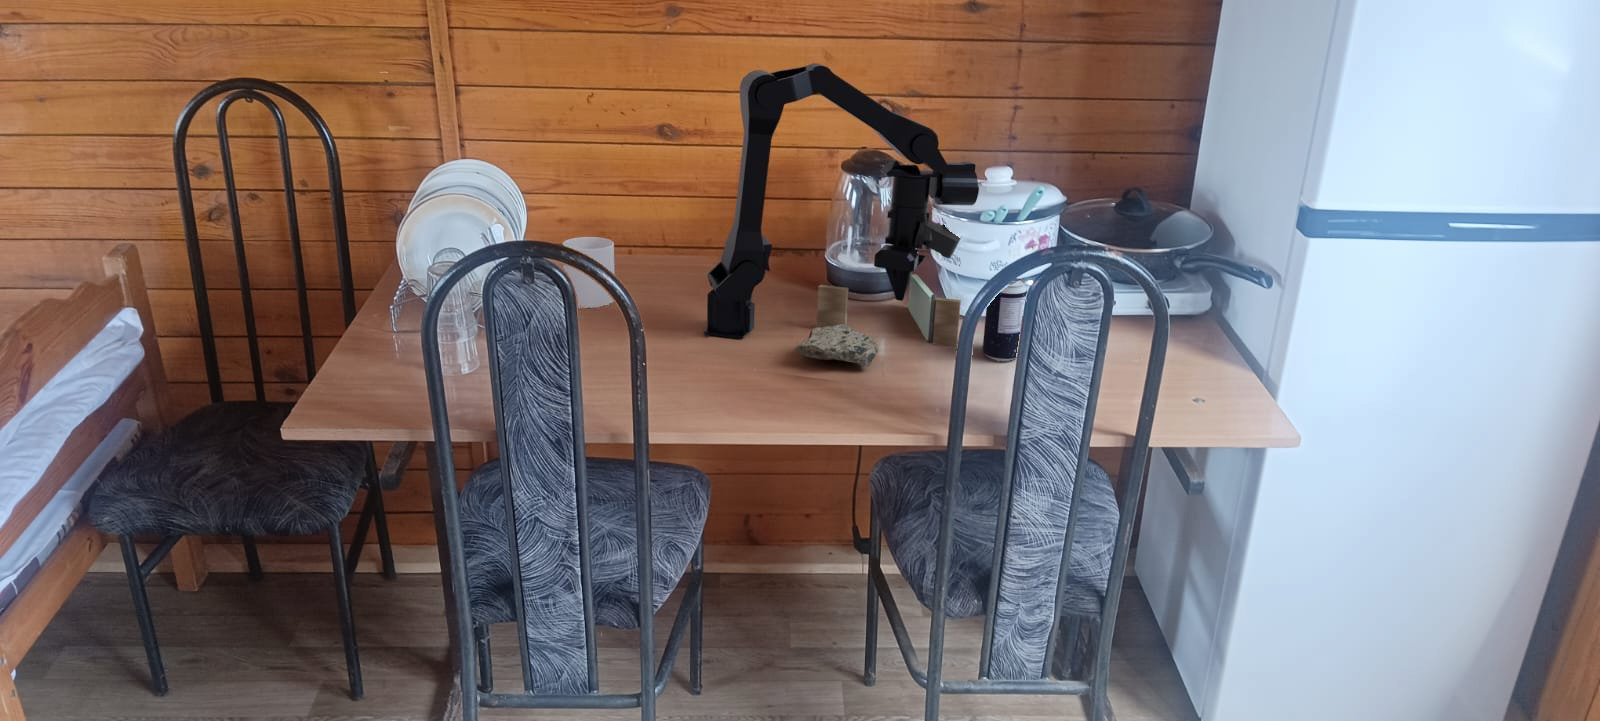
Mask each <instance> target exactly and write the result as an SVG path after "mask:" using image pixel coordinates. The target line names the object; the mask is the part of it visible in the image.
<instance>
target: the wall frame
mask: <svg viewBox="0 0 1600 721" xmlns="http://www.w3.org/2000/svg"><path fill="white" fill-rule="evenodd" d="M817 291H818V292H817V308H816V309H817V312H816V313H817V314H816V327H820V328H823V327H827V326H834V325H840V324H844V325H847V322H848V321H847V320H848V302H849V301H848V300H849V287H847V286H845V287H843V286H836V285H835V286H834V285H827V284H826V285H824V284H820V285H819V286H818V290H817ZM961 302H962V300H961V299H956V298H955V299H953V298H944V297H938V295H937V294H935V293H933V295H932V298H931V311H930V323H929V336H928V340H927V342H928V343H930V344H933V345H943V346H950V347H957V346H958V339H959V338H958V335H959V326H960V316H961V314H960V313H961V304H962V303H961ZM847 326H848V325H847Z"/></svg>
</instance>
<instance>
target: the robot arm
mask: <svg viewBox="0 0 1600 721" xmlns="http://www.w3.org/2000/svg"><path fill="white" fill-rule="evenodd" d="M817 94H818V95H820V96H822V97H824V99H826V100H828V101H829V102H831V103H832V104H834V105H836V106H837V107H838V108H840V109H841V110H843V111H845V112H846V113H848V114H849V115H850V116H852V117H854V118H856V119H857V120H858V121H860V122H862V123H863V124H864V125H866V126H868V128H871V129H872V130H873V131H874V132H875V133H876V134H877V135H878V136H879V137H880V138H881V139H882V140H883V141H884V142H885V143H886V144H887V145H888V146H889V147H890V148H891V149H892V150H893V151H894V152H895V153H896V154H897V155H899V156H900V157H902V158H904V159H906V160H907V161H909V162H911V163H912V164H903V163H902V164H900V163H899V161H898V160H896V159H894V158H892V159H890V161H889V162H888V163H887V164H885V165H884V166H882V167H881V169H880V172H881V173H882V174H883V175H885V176H886V177H888V178H891V177H892V178H893V179H892V190H891V201H890V208H889V210H887V215H886V217H887V219H889V222H888V232H887V235H886V236H885V239H884V246H882V247H881V248H879V250H877V252H876V253H875V254H874V261H873V266H874V267H875V268H879V269H885V272H886V274H887V276H888V279H889V282H890V286H891V288H892V291H893V294H894V297H895V299H896V301H903V300H904V299H905V297H906V292H907V290H908V287H909V285H910V278H911V275H913V272H915V270H916V269H917V268H919V267H920V265H921V264H922V262H923V261H924V260H925V259H926V255H924V254H919V250H918V249H920V250H922V249H924V246H925V250H927V251H928V250H933V251H934V252H936V253H938V254H940V255H941V257H943V258H946V259H951V257H952V256H953V254H954V252H955V251H956V249H957V246H958V244H959V243H960V240H961V239H962V237H961V238H959V237H958V236H956V235H955V234H953V233H952V232H950V231H949V230H948V229H947V228H946V227H945V225H944V223H942V224H943V225H942V224H941V223H940V222H934V221H933V220H931V212H930V210H929V209H928V204H929V198H930V199H932V200H933V199H934V200H933V201H934V203H935V204H936V205H937V206H974V205H975V204H976V202H977V200H978V197H979V192H980V186H979V182H978V175H977V172H976V164H975V163H974V162H972V161H960V162H950V161H949V162H948V161H946V159H945V158H944V157H943V155H942V153H941V151H940V149H939V136H938V134H937V133H936V132H935V130H933V129H932V128H930V127H928V126H926V125H924V124H922V123H919V122H918V121H915V120H913V119H910V118H908V117H906V116H903V115H900V114H899V113H896V112H894V111H891V110H889V108H886V107H885V106H883V105H882V104H880V103H878V101H876V100H874V99H872V97H870V96H869V95H867V94H865V93H864V92H862V91H861V90H859V89H858V88H856V87H855V86H853V85H852V84H850V83H849V82H848V81H846V80H844V79H843V78H841V77H840V76H838V75H836V74H835V73H834V72H833V71H832V70H831V68H829V67H828V66H825V65H823V64H821V63H819V62H816V63H815V62H812V63H810V64H807V65H804V66H799V67H792V68H788V69H782V70H781V69H780V70H776V71H772V72H768V71H766V70H763V69H756V70H752V71H750V72H748V73H747V74H746V75H745V76H743V77H742V79H741V81H740V85H739V100H740V101H739V103H740V104H739V106H740V113H741V120H742V125H743V126H742V127H743V141H742V149H741V156H740V158H741V159H740V166H739V176H738V185H737V186H738V187H737V193H736V195H737V196H736V204H735V211H734V212H735V213H734V221H733V224H732V227H731V229H730V231H729V233H728V236H727V238H726V241H725V244H724V248H723V251H722V255H721V258H720V261H719V262H718V263H717V264H716V265H715V266H714V267H713V268H712V269H711V270H709V272H708V273H707V274H706V277H707V279H708V282H709V284H710V287H711V288H712V290H711V289H710V291H709V292H708V293H707V305H706V306H707V307H706V308H707V312H706V314H707V315H706V316H707V318H706V319H707V320H706V321H707V322H706V327H705V329H704V330H703V335H706V336H716V337H723V338H731V339H738V340H741V339H744V338H745V337H746V336H747V335H748V334H750V332H752V330H753V329H754V328H755V306H756V305H755V302H752V298H753V297H752V296H753V292H754V290H755V288H756V287H757V286H759V284H761V283H762V282H763V280H764V279H765V275H766V271H767V272H770V271H771V269H770V265H769V264H770V263H769V261H770V257H771V252H772V248H773V244H771V242H770V241H769V240H768V239H767V238H766V237H765V235H763V234H762V224H763V216H764V209H765V208H764V207H765V200H766V199H765V198H766V189H767V181H768V172H769V165H770V157H771V156H770V155H771V147H772V140H773V139H772V138H773V136H774V134H775V132H776V129H777V127H778V126H779V122H780V120H781V118H782V115H783V112H784V107H785V105H788V104H791V103H795V102H799V101H800V100H803V99H806V98H809V97H810V96H814V95H817ZM918 165H924V166H925V167H927V168H929V169H930V170H920V168H919V166H918Z"/></svg>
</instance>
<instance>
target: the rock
mask: <svg viewBox="0 0 1600 721" xmlns="http://www.w3.org/2000/svg"><path fill="white" fill-rule="evenodd" d="M878 351H879V346H878V343H877V341H876V340H874V339H873V338H872V337H871V336H870V335H866V334H865V333H863V332H861V331H855V330H854V329H853V328H852V327H850V326H849V325H844V324H840V325H834V326H827V327H823V328H820V327H817V326H816V327H813V328H811V330H810V333H809V336H808V338H806V339H804V340H803V341H802V342H801V343H799V344H798V346H796V348H795V352H796V353H797V354H800V355H801V356H804V357H807V358H811V359H813V360H823V361H832V360H836V361H843V362H847V363H855V364H858V365H861V366H866V367H870V366H872V363H873V360H874V359H875V358H876V354H878Z"/></svg>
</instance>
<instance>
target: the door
mask: <svg viewBox="0 0 1600 721" xmlns="http://www.w3.org/2000/svg"><path fill="white" fill-rule="evenodd" d="M908 291H909V292H908V293H909V296H908V305H907V306H908V307H907V310H908V311H909V313H910V314H911V317H912V318H913V320H914V321H915V323H916V325H917V326H918V328H919V330H920V331H921V334H922V335H923V337H924V339H925V341H928V336H929V323H930V311H931V298H932V295H933V294H934V293H933V292H932V290H931V289H930V288H929V287H928V285H926V283H925V282H924V281H923V280H922V279H921V278H920V277H919V276H918V274H912V275H911V278H910V281H909V290H908Z"/></svg>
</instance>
